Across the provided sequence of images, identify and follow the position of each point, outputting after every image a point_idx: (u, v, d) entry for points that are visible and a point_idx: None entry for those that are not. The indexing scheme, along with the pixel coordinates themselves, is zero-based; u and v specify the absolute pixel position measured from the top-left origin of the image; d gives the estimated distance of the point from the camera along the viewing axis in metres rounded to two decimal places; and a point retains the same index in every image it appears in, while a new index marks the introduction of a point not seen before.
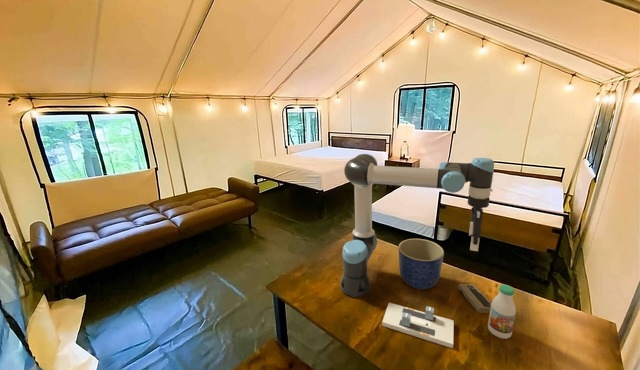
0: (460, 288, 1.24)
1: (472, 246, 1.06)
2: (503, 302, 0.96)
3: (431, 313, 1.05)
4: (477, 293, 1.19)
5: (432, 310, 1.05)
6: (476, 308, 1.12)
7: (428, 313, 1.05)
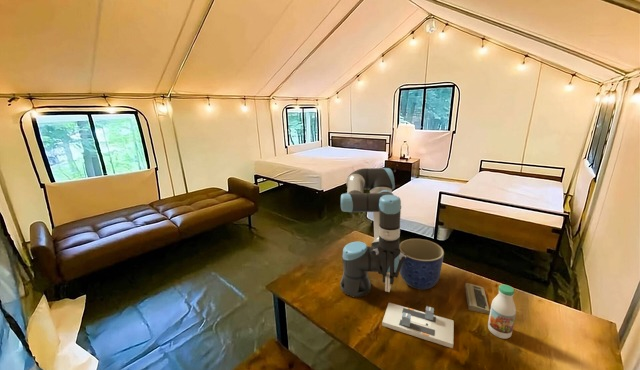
0: (465, 286, 1.25)
1: None
2: (503, 302, 0.96)
3: (431, 313, 1.05)
4: (479, 294, 1.18)
5: (432, 310, 1.05)
6: (468, 305, 1.14)
7: (428, 313, 1.05)
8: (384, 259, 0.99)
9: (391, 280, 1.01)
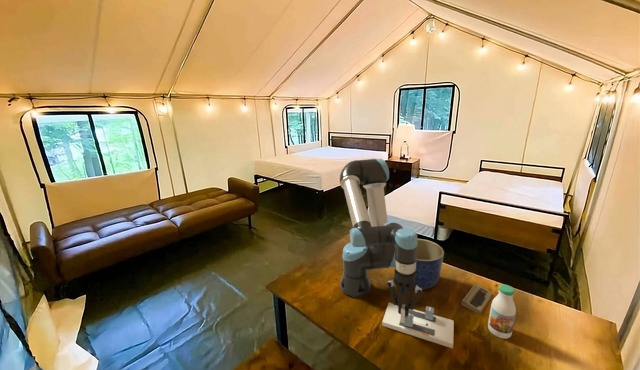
0: (472, 287, 1.24)
1: None
2: (503, 302, 0.96)
3: (431, 313, 1.05)
4: (480, 295, 1.17)
5: (432, 310, 1.05)
6: (462, 301, 1.16)
7: (428, 313, 1.05)
8: (400, 291, 0.99)
9: (406, 312, 1.02)
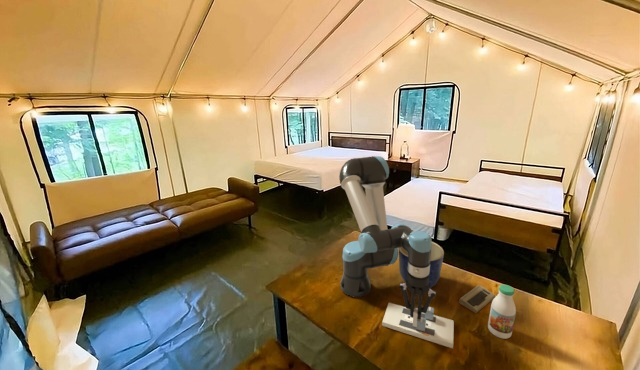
0: None
1: None
2: (503, 302, 0.96)
3: (431, 313, 1.05)
4: (480, 296, 1.17)
5: (432, 310, 1.05)
6: None
7: (428, 313, 1.05)
8: (413, 295, 0.98)
9: (419, 315, 1.00)
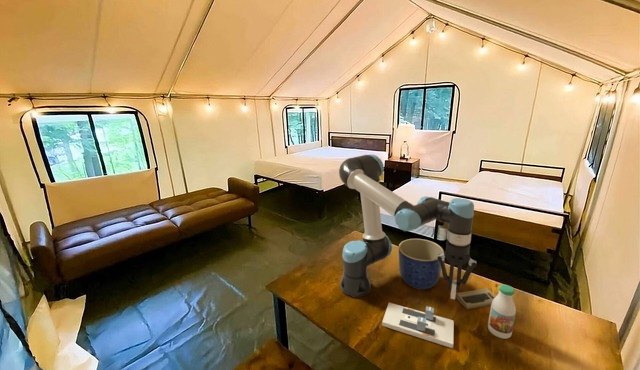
0: None
1: None
2: (503, 302, 0.96)
3: (431, 313, 1.05)
4: (481, 297, 1.16)
5: (432, 310, 1.05)
6: None
7: (428, 313, 1.05)
8: (452, 265, 0.95)
9: (457, 287, 0.97)
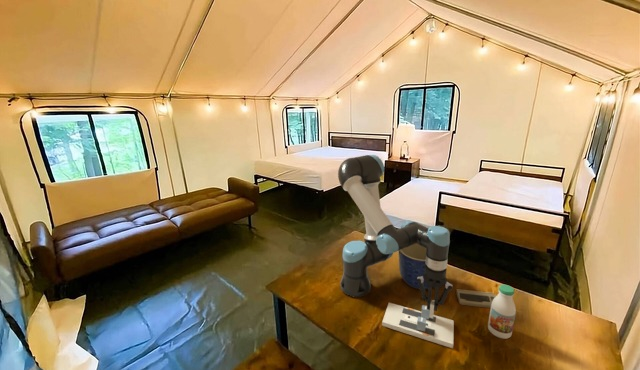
0: None
1: None
2: (503, 302, 0.96)
3: (427, 312, 1.05)
4: (480, 298, 1.16)
5: (428, 309, 1.06)
6: None
7: (425, 312, 1.06)
8: (430, 287, 1.01)
9: (435, 307, 1.04)
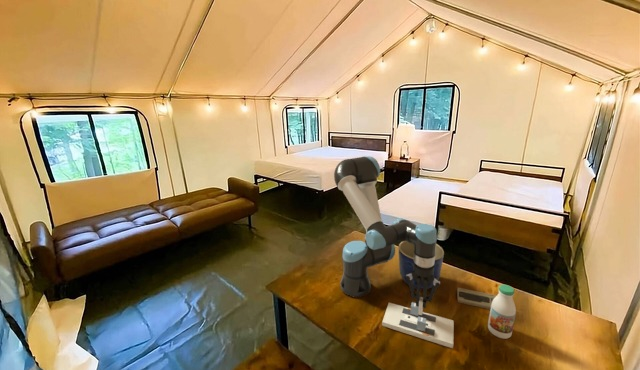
0: None
1: None
2: (503, 302, 0.96)
3: (416, 309, 1.07)
4: (479, 298, 1.16)
5: (417, 306, 1.08)
6: None
7: (414, 309, 1.08)
8: (418, 284, 1.03)
9: (424, 304, 1.06)
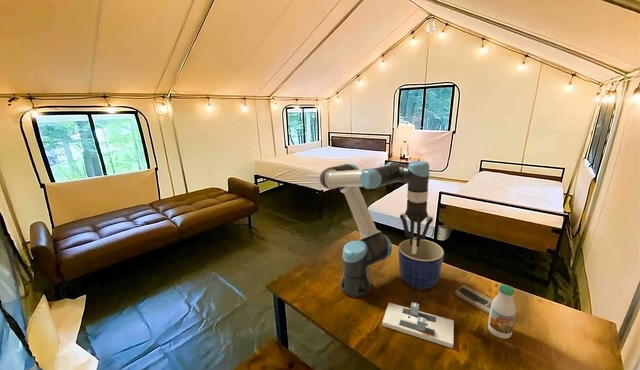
0: None
1: None
2: (503, 302, 0.96)
3: (416, 309, 1.07)
4: (477, 298, 1.16)
5: (417, 306, 1.08)
6: None
7: (414, 309, 1.08)
8: (412, 222, 1.05)
9: (417, 242, 1.08)
